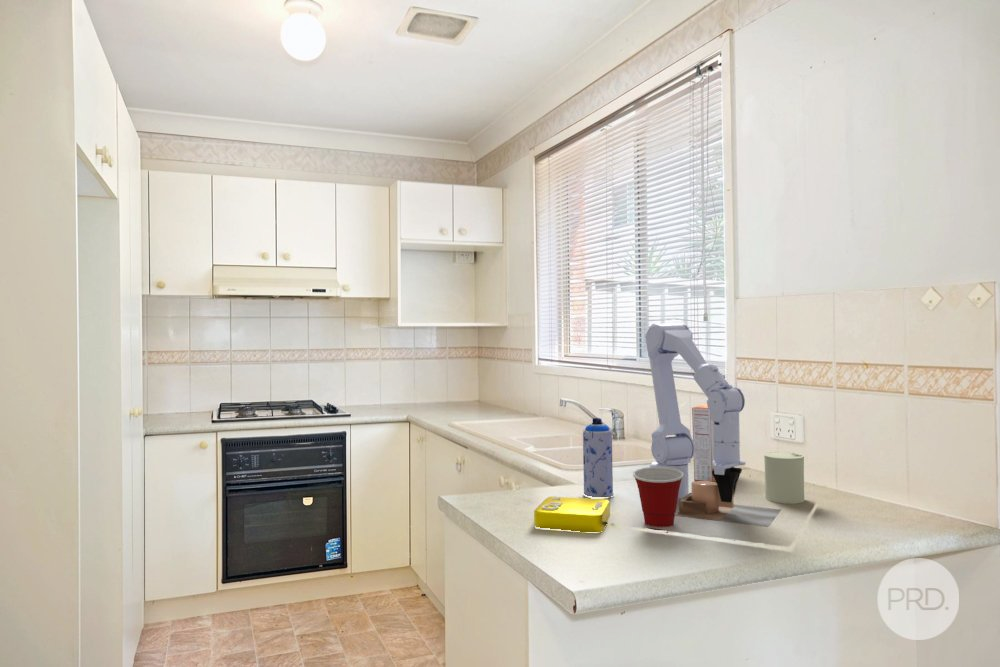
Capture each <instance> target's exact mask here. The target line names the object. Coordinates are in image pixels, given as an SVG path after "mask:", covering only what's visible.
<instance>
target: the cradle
mask: <svg viewBox="0 0 1000 667" xmlns="http://www.w3.org/2000/svg"><path fill="white" fill-rule="evenodd" d="M781 511H782V509H780V508H773V507H772V508H771V507H761V506H755V505H753V506H751V505H742V504H736V503H734V507H733V508H728V507H719V511H718V512H715V513H706V503H701V502H692V492H689V494H688V495H686V496H685V497H684V498H680V499H679V500H678V512H677V513H675V516H677V517H684V518H692V519H700V520H709V521H718V522H726V523H731V524H732V523H733V524H740V525H750V526H751V525H752V526H758V527H765V528H768V527H769V526H771V524H772V523H773V521H774V520H775V518H776V517H777V515H779V513H780V512H781Z"/></svg>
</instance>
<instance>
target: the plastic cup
mask: <svg viewBox="0 0 1000 667" xmlns="http://www.w3.org/2000/svg"><path fill="white" fill-rule="evenodd" d="M683 476H684V474H683V472H681V471H680V470H677V469H673V468H666V467H650V466H649V467H641V468H639V469H636V470H634V471H633V472H632V477H633V478H634V479H635V482H636V485H637V489H638V493H639V498H640V499H639V500H640V504H641V510H642V511H641V512H642V514H643V518H644V524H645V525H646V526H649V527H648V529H650V530H654V531H664V529H661V528H668V527H672V526H673V525H674V523H675V518H676V517H675V515H676V514H677V513H676V512H677V504H678V501H679V500H678V493H679V488H680V484H681V480H682V478H683Z"/></svg>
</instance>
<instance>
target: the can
mask: <svg viewBox="0 0 1000 667" xmlns="http://www.w3.org/2000/svg"><path fill="white" fill-rule="evenodd" d="M763 457H764V459H763V460H764V499H765V500H767V501H769V502H772V503H778V504H786V505H787V504H789V505H790V504H801V503H804V502H805V500H806V499H805V455H804V454H802V453H797V452H796V453H795V452H791V451H790V452H788V451H786V452H785V451H771V452H765V453H763Z"/></svg>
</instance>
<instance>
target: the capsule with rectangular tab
mask: <svg viewBox="0 0 1000 667" xmlns="http://www.w3.org/2000/svg"><path fill="white" fill-rule="evenodd" d="M691 493H692V502H701V503H706V513H715V512H718V511H719V507H728V508H733V507H734V504H735V502H734V500H735V498H734V497H735V495H734V489H733V497H732V501H731V502H722V501H721V498H720V494H719V490H718V486H717V483H716V481H715V482H710V481H695V480H694V481H692V482H691Z"/></svg>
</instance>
